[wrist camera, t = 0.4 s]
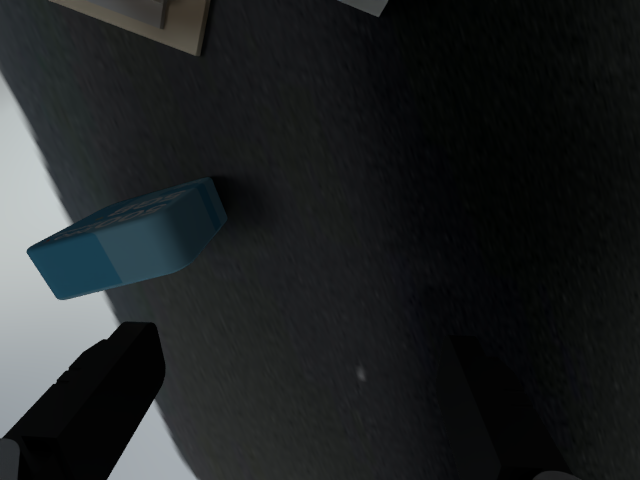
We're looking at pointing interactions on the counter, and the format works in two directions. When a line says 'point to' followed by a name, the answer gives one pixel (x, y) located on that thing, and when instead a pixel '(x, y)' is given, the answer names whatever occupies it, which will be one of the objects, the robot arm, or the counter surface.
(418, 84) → the counter surface
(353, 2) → the block
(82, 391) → the robot arm
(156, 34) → the rail board
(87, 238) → the data package
